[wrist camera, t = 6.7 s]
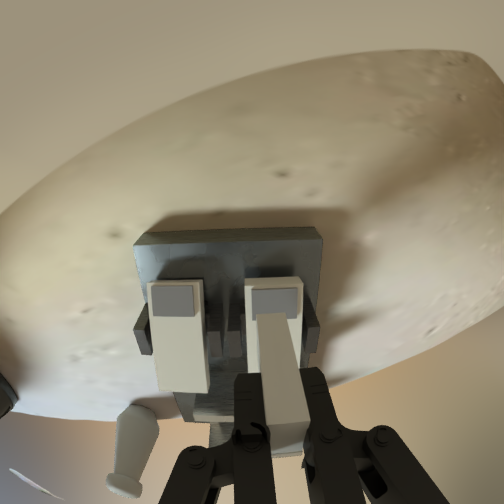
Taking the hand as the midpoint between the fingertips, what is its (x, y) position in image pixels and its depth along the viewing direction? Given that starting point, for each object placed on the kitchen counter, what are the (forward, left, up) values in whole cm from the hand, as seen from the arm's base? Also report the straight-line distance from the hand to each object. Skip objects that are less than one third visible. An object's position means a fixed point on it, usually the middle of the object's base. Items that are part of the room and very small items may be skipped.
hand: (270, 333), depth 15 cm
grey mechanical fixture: (-2, -8, -8) cm, 12 cm away
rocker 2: (+1, -3, -3) cm, 4 cm away
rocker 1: (-6, -3, -3) cm, 7 cm away
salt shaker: (-16, -22, -8) cm, 28 cm away
